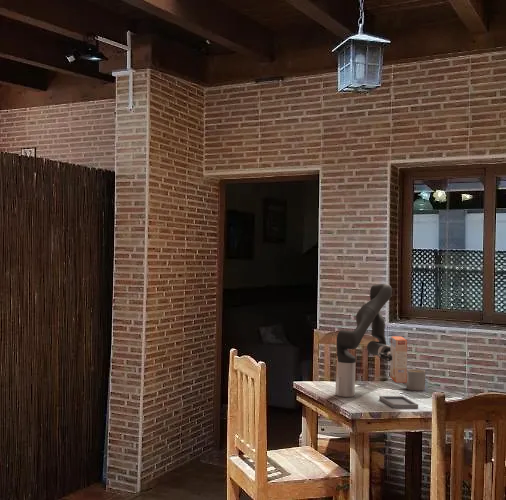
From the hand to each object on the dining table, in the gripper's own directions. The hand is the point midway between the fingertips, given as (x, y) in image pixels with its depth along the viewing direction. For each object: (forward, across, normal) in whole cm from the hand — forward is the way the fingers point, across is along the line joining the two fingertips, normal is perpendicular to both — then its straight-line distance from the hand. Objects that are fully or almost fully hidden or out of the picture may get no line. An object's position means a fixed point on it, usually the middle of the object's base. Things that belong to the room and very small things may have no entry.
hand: (398, 358), depth 329 cm
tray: (+2, 0, +22) cm, 22 cm away
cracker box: (+2, 0, +11) cm, 11 cm away
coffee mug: (-38, +23, +23) cm, 50 cm away
